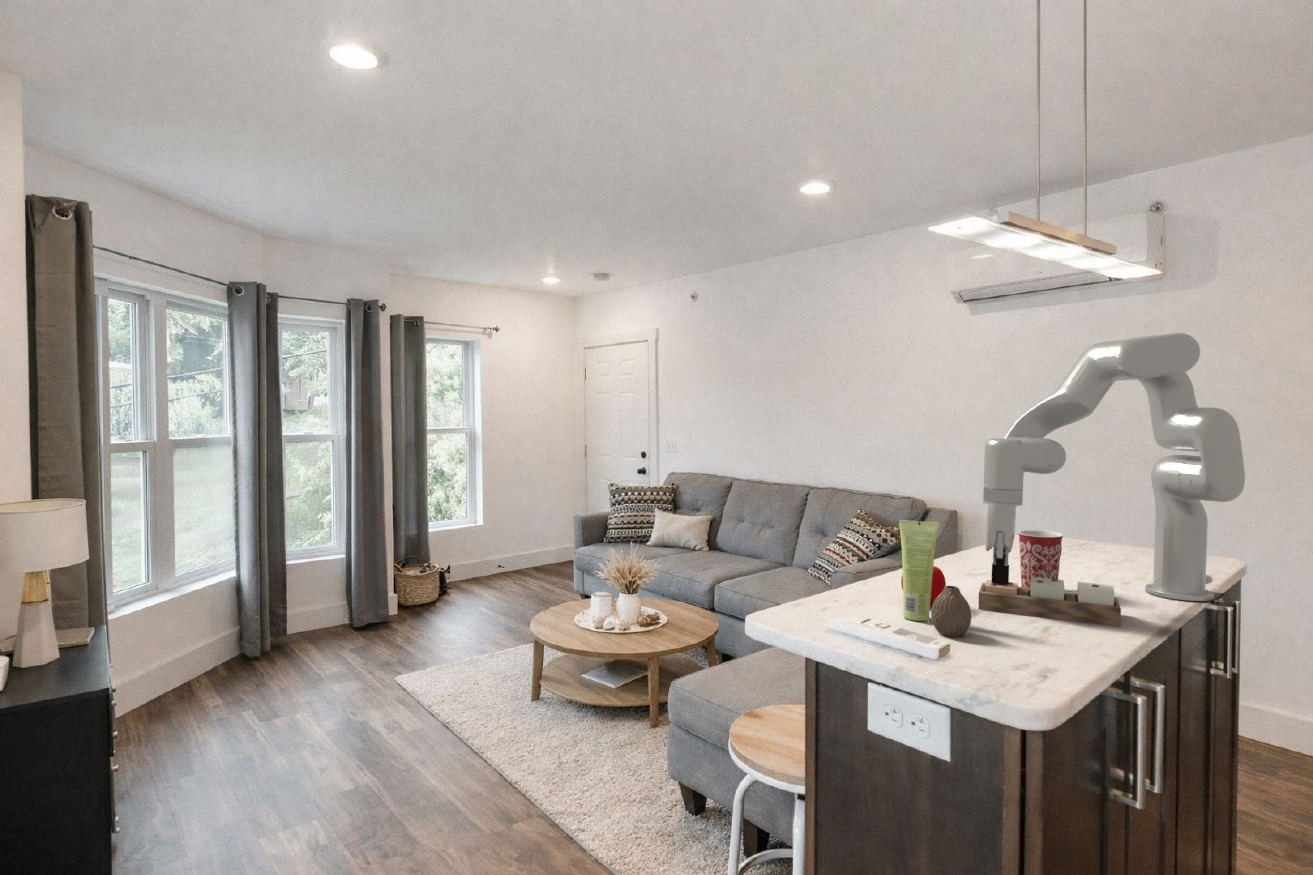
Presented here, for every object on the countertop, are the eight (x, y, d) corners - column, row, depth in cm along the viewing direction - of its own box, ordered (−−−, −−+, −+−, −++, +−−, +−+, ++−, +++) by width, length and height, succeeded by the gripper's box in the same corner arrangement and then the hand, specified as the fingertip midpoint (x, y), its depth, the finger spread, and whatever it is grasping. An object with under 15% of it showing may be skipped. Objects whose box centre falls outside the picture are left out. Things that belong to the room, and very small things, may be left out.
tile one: (1111, 599, 146) (1111, 583, 146) (1113, 606, 140) (1114, 590, 140) (1077, 595, 149) (1077, 580, 148) (1078, 602, 143) (1078, 586, 143)
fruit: (955, 606, 153) (956, 559, 153) (923, 611, 149) (924, 563, 149) (921, 595, 161) (922, 551, 161) (891, 600, 157) (891, 554, 157)
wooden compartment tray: (1116, 613, 147) (1116, 596, 147) (1120, 626, 138) (1120, 608, 138) (982, 598, 159) (982, 582, 159) (978, 609, 150) (978, 592, 150)
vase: (924, 628, 137) (925, 582, 136) (959, 627, 137) (960, 582, 137) (941, 640, 130) (942, 591, 130) (978, 639, 130) (979, 591, 130)
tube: (920, 613, 147) (921, 518, 146) (937, 620, 142) (939, 521, 141) (897, 616, 145) (898, 519, 144) (914, 623, 140) (916, 523, 140)
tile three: (1017, 596, 154) (1017, 581, 154) (1016, 603, 149) (1016, 587, 149) (986, 593, 157) (987, 578, 157) (984, 599, 152) (984, 584, 151)
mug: (1047, 598, 159) (1048, 537, 159) (1008, 589, 167) (1010, 531, 167) (1078, 591, 166) (1080, 533, 165) (1040, 583, 174) (1041, 527, 173)
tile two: (1063, 594, 150) (1063, 578, 150) (1063, 600, 145) (1064, 584, 144) (1030, 590, 153) (1031, 575, 153) (1030, 597, 147) (1030, 581, 147)
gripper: (986, 492, 160) (983, 574, 161) (980, 499, 147) (977, 588, 148) (1023, 495, 157) (1021, 578, 157) (1021, 501, 144) (1018, 593, 144)
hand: (999, 583), depth 153 cm, fingers closed
